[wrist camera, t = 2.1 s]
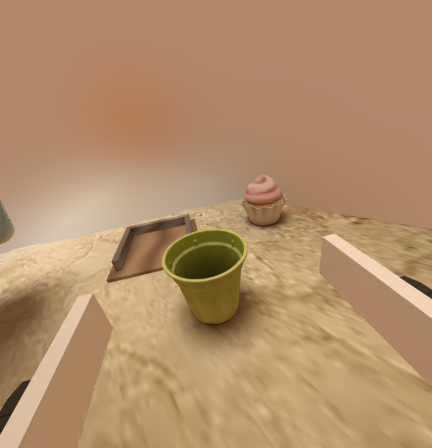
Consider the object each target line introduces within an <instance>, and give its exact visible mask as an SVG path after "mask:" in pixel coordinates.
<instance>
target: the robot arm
mask: <svg viewBox="0 0 432 448" xmlns="http://www.w3.org/2000/svg"><path fill="white" fill-rule="evenodd" d="M13 235H14V228H13V225H12V223H11V221H10V219H9V217H8V215H7V213H6V211H5V209H4V207H3V205H2V203H1V201H0V244H3V243H5V242H7V241H9V240H10V239H11V238H12V237H13ZM320 274H321V275H322V276H323V277H324V278H325V279H326V280H327V281H328V282H329V283H330V284H331V285H332V286H333V287H334V288H335V289H336V290H337V292H338V293H339V294H340V295H341V296H342V297H343V298H344V299H345V300H346V301H347V302H348V303H349V304H350V305H351V306H352V307H353V308H354V309H355V310H356V311H357V312H358V313H359V314H360V315H361V316H362V317H363V318H364V319H365V320H366V321H367V322H368V323H369V324H370V325H371V326H372V327H373V328H374V329H375V330H376V331H377V332H378V333H379V334H380V335H381V336H382V337H383V338H384V339H385V340H386V341H387V342H388V343H389V344H390V345H391V346H392V347H393V348H394V349H395V350H396V351H397V352H398V353H399V354H400V355H401V356H402V357H403V358H404V359H405V360H406V361H407V362H408V363H409V364H410V365H411V366H412V367H413V368H414V369H415V370H416V372H417V373H418V374H419V375H420V376H421V377H422V378H423V379H424V380H425V381H426V382H427V383H428V384H429V385H430V386H431V387H432V290H431V289H430V288H428V287H427V286H425V285H424V284H422V283H420V282H418V281H416V280H413V279H411V278H408V277H406V276H403V277H398V276H396V275H395V274H393V273H392V272H390V271H389V270H388V269H386V268H385V267H383V266H382V265H380V264H379V263H377V262H376V261H374V260H373V259H371V258H370V257H368V256H367V255H365V254H364V253H362V252H361V251H359V250H358V249H356V248H355V247H353V246H352V245H350V244H349V243H347V242H346V241H344V240H343V239H341V238H340V237H338V236H337V235H335V234H332V235H328V236H324V237H323V239H322V250H321V261H320ZM112 328H113V327H112V325H111V324H110V322H109V320H108V319H107V317H106V315H105V313H104V312H103V310H102V308H101V307H100V305H99V303H98V301H97V300H96V298H95V296H94V295H93V293H92V294H88V295H84V296H80V297H77V299H76V301H75V303H74V305H73V306H72V308H71V310H70V312H69V313H68V315H67V317H66V319H65V321H64V322H63V324H62V326H61V328H60V329H59V331H58V333H57V335H56V337H55V338H54V340H53V342H52V344H51V345H50V347H49V349H48V351H47V353H46V354H45V356H44V358H43V360H42V361H41V363H40V365H39V367H38V369H37V370H36V372H35V374H34V376H33V378H32V379H31V380H28V381H24V382H22V383H21V384H20V386H19V387H18V388H17V389H16V390H15V391H14V392H13V394H12V395H11V396H10V397H9V398H8V399H7V401H6V403H5V404H4V406H3V408H2V409H1V411H0V448H76V447H77V444H78V440H79V437H80V434H81V430H82V427H83V424H84V421H85V417H86V414H87V411H88V407H89V404H90V401H91V397H92V394H93V391H94V388H95V384H96V381H97V378H98V374H99V371H100V368H101V365H102V361H103V358H104V355H105V351H106V348H107V345H108V341H109V338H110V335H111V332H112Z"/></svg>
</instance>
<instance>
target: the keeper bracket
mask: <svg viewBox="0 0 432 448" xmlns="http://www.w3.org/2000/svg"><path fill="white" fill-rule="evenodd" d="M195 231H197V229H196V225H195V220H194V219H192V220H190V217H189V214H187V215H182V216H177V217H172V218H168V219H163V220H158V221H154V222H149V223H144V224H139V225H135V226H130V227H127V228H126V230H125V233H124V235H123V237H122V239H121V242H120V244H119V246H118V248H117V251H116V253H115V255H114V257H113V260H112V264H113V267H112V269H111V271H110V274H109V276H108V278H107V282H112V281H116V280H121V279H125V278H129V277H133V276H138V275H142V274H146V273H150V272H155V271H159V270H163V269H164V268H163V266H162V258H163V254H164V253H165V251H166V249H167V248H168V247H169V246H170V245H171V244H172V243H174V242H175V241H176V240H177V239H179V238H181V237H183V236H185V235H187V234H189V233H192V232H195Z"/></svg>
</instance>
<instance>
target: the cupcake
mask: <svg viewBox="0 0 432 448" xmlns="http://www.w3.org/2000/svg"><path fill="white" fill-rule="evenodd" d="M286 200H287V199H286V198H285V195H283V194H282V191H281V189H280V187H279V186H278V185H277V184H276V183H275V181H274V180H273V179H271V178H270V177H268V176H265V175H261V176H259V177H258V178H257V179H256V180H255V182H254V183H251V184H250V185H248V187H247V190H246V194H245V197H244V198H242V202H241V204H242V205H243V207H244V208H245V209H246V212H247V214H248V217H249V220H250V221H251V222H252V223H253V224H255V225H260V226H266V225H272V224H274V223H276V222H277V221H278V220H279V218H280V214H281V211H282V208H283V206H284V204H285V202H286Z"/></svg>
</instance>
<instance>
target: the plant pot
mask: <svg viewBox="0 0 432 448" xmlns="http://www.w3.org/2000/svg"><path fill="white" fill-rule="evenodd" d="M246 256H247V243H246V241H245V240H244V239H243V238H242V237H241V236H240V235H239V234H237V233H235V232H233V231H230V230H225V229H205V230H200V231H195V232H192V233H189V234H187V235H185V236H183V237H181V238H179V239H177V240H176V241H175V242H174V243H172V244H171V245H170V246H169V247H168V248H167V249H166V251H165V253H164V254H163V258H162V266H163V268H164V270H165V272H166V273H167V274H168V275H169V276H170V277H171V278H173V279H174V281H175V282H176V283H177V284H178V285H179V287H180V289H181V291H182V293H183V295H184V297H185V298H186V300H187V302H188V304H189V306H190V308H191V310H192V312H193V314H194V316H195V317H196V318H197V319H198V320H199V321H201V322H203V323H214V324H220V323H223V322H225V321H227V320H229V319H230V318H231V317H232V316H233V315H234V314H235V313H236V311H237V309H238V305H239V293H240V276H241V268H242V266H243V262H244V260H245V258H246Z"/></svg>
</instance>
